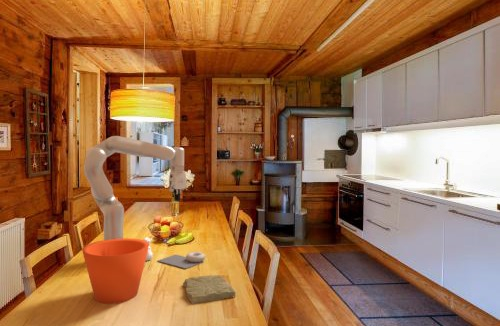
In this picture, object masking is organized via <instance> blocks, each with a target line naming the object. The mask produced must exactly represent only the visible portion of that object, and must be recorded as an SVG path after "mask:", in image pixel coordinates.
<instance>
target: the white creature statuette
mask: <svg viewBox="0 0 500 326" xmlns="http://www.w3.org/2000/svg"><path fill="white" fill-rule="evenodd" d="M142 240H144V241H146V242H148V243H149V247H148V251H147V255H146V260H145V262H149V261H151V260H152V259H153V258H154V256H153V255H154V253H153V251H152V248H151V246H150V244H151V242H152V241H153V238H152V237H151V238H149V237H147V236H146V237H144V238H142Z"/></svg>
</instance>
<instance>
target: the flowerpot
mask: <svg viewBox="0 0 500 326" xmlns="http://www.w3.org/2000/svg"><path fill="white" fill-rule="evenodd" d="M149 246H150V244H149V243H148V242H146V241H144V240H143V239H139V238H128V237H127V238H126V237H125V238H124V237H123V238H121V239H109V240H104V239H103V240H98V241H94V242H91V243H89V244H87V245H85V246H83V247H82V249H81V251H82V254H83V258H84V262H85V265H86V266H85V267H86V271H87V274H88V277H89V282H90V284H91V289H92V292H93V296H94V297H93V298H94V300H95V302H97V303H100V304H107V305H109V304H114V305H115V304H119V303H124V302H128V301H131V300H132V299H134V298H135V297H136V296H138V293H139V292H138V291H139V289H140V285H141V280H142V275H143V271H144V268H145V263H146V261H145V260H146V255H147V251H148V247H149Z"/></svg>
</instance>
